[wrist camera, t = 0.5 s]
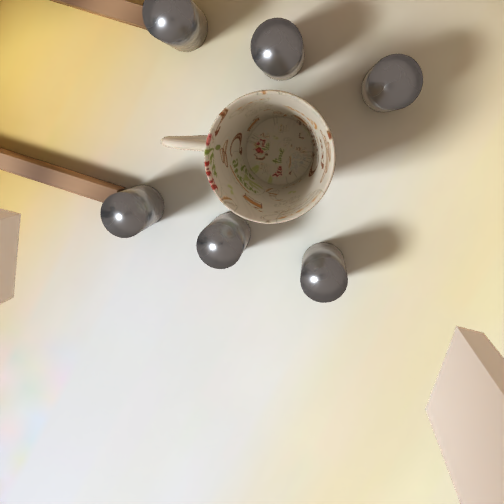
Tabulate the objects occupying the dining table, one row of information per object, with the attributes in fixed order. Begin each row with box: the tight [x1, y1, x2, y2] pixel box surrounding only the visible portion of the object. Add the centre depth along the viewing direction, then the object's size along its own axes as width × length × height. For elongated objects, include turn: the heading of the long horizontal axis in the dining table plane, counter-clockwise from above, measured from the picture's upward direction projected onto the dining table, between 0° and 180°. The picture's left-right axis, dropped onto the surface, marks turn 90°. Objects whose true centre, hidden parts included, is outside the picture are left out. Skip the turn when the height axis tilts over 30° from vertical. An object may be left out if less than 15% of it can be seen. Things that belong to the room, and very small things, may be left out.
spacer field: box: [101, 0, 423, 302], centre depth 37 cm, size 20×19×5 cm
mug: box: [161, 90, 336, 224], centre depth 35 cm, size 8×13×10 cm, turn 87°
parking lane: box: [0, 0, 147, 202], centre depth 40 cm, size 16×16×2 cm
